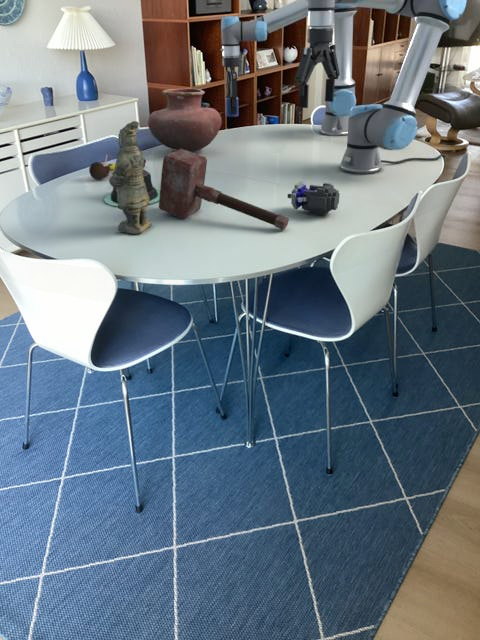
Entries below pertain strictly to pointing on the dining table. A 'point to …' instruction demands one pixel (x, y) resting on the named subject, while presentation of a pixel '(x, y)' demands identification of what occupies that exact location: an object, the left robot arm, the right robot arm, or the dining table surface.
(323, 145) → the dining table surface
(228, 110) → the can
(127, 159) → the statue
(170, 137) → the clay pot
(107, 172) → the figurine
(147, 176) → the chocolate cake
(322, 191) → the toy
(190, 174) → the sledgehammer
